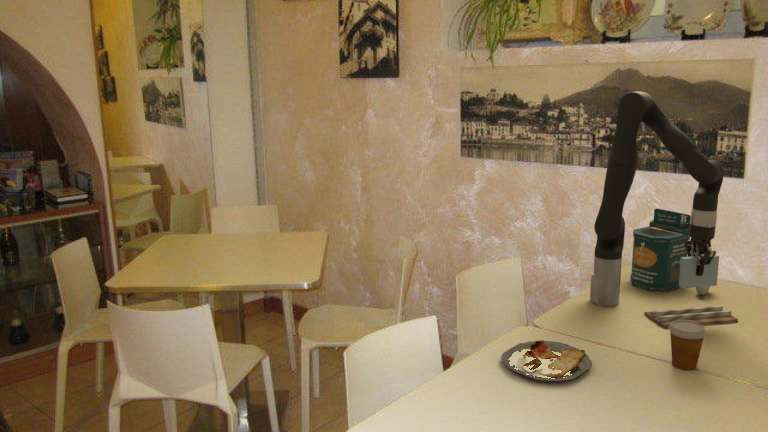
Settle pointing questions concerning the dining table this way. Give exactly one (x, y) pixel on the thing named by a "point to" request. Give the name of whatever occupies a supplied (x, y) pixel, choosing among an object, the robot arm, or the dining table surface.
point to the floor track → (692, 316)
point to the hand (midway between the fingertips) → (697, 274)
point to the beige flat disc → (702, 290)
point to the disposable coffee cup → (686, 343)
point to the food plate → (566, 362)
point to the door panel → (689, 273)
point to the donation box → (660, 251)
